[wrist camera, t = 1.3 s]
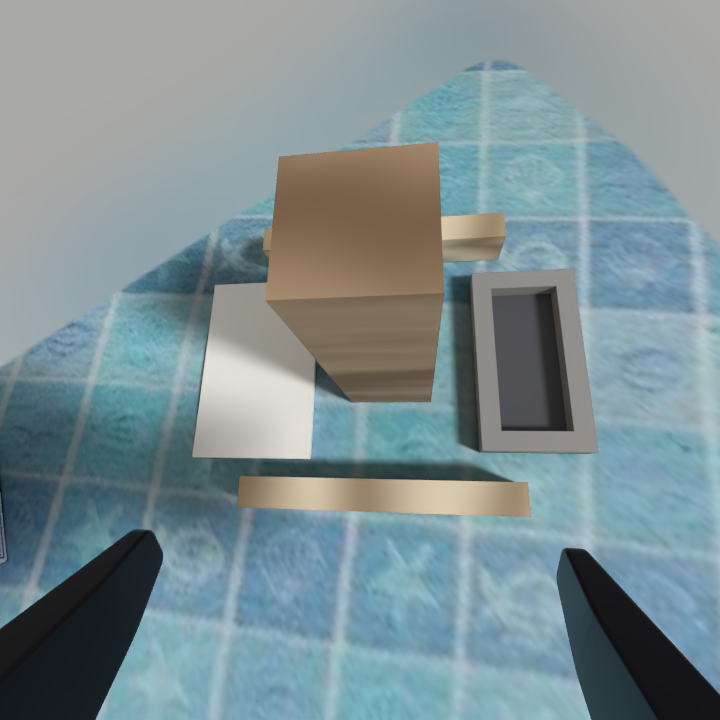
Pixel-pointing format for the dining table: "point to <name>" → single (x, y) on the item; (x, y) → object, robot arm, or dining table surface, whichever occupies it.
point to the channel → (459, 243)
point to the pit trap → (530, 364)
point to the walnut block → (362, 266)
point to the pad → (254, 382)
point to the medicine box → (2, 538)
